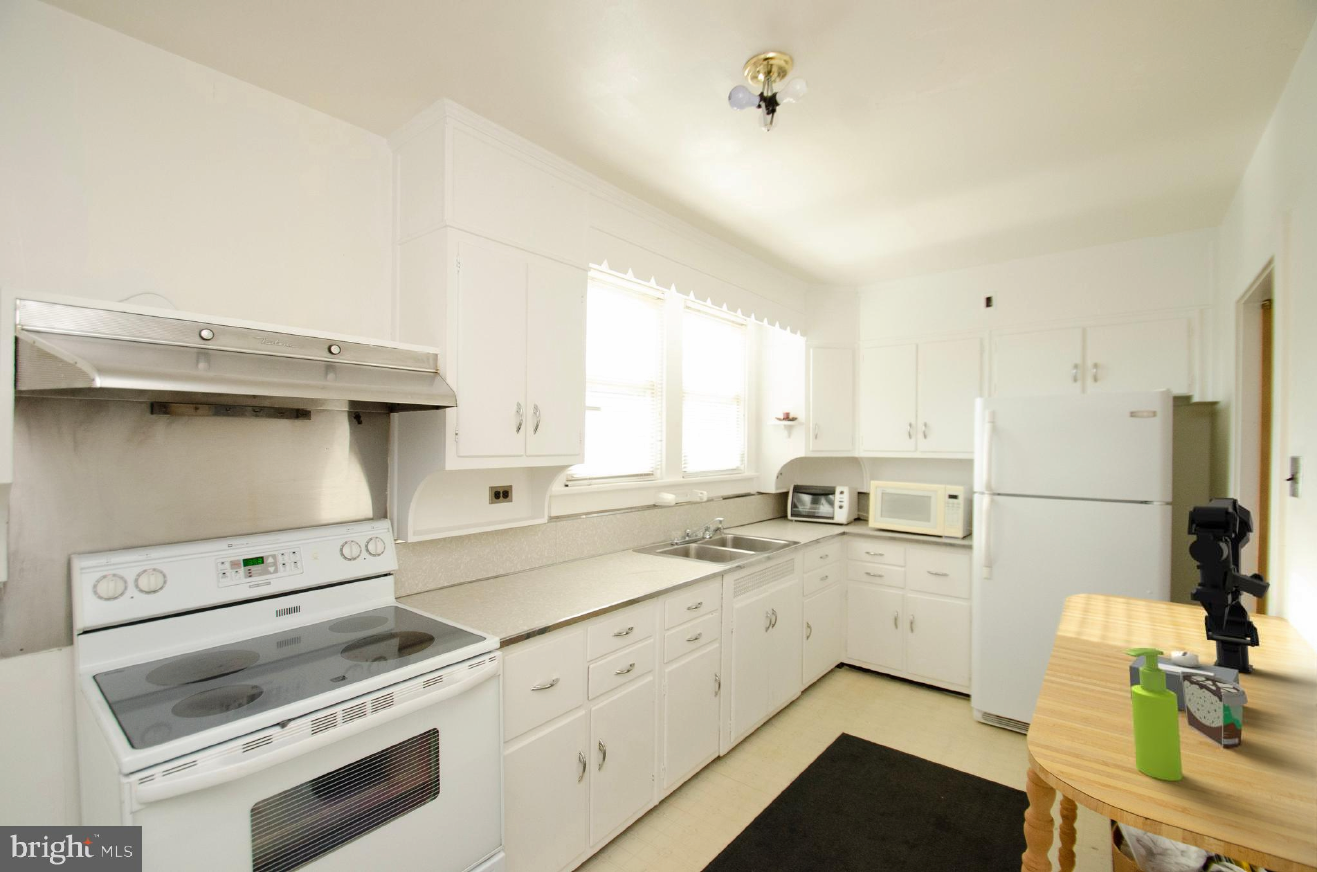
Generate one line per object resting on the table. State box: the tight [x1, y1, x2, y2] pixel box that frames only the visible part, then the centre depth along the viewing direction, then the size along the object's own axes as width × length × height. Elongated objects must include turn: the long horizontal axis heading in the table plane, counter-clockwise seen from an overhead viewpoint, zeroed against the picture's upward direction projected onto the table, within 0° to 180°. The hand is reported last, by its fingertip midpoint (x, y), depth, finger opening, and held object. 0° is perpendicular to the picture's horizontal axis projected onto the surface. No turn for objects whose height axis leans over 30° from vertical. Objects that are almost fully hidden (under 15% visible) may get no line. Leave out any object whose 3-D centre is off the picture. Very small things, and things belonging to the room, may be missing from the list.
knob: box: [1170, 650, 1200, 667], centre depth 129 cm, size 4×4×6 cm
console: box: [1128, 655, 1240, 712], centre depth 126 cm, size 12×16×7 cm
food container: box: [1180, 671, 1249, 749], centre depth 110 cm, size 12×6×10 cm, turn 168°
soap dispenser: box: [1124, 647, 1183, 782], centre depth 99 cm, size 6×7×20 cm
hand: (1220, 629), depth 136 cm, fingers closed
